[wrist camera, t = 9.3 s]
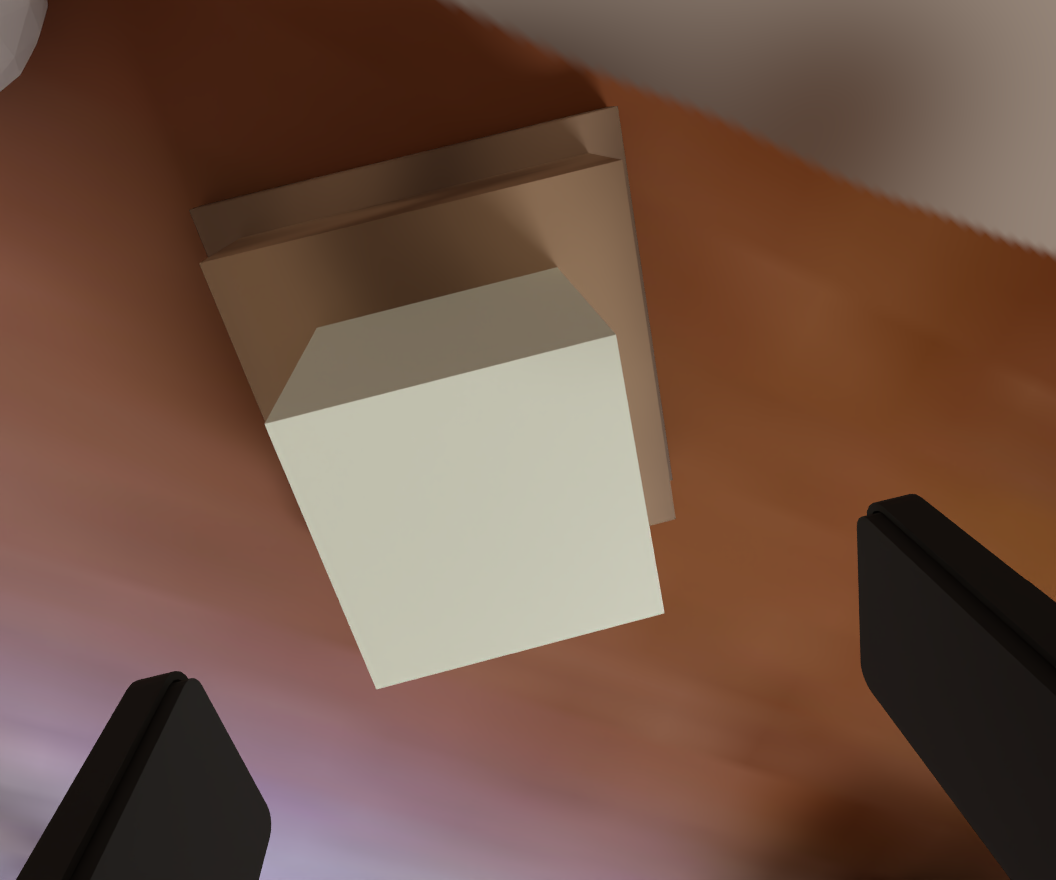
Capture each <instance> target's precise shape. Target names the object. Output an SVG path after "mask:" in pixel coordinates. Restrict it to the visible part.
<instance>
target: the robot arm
mask: <svg viewBox="0 0 1056 880" xmlns="http://www.w3.org/2000/svg"><path fill="white" fill-rule="evenodd" d="M857 547H858V583H859V619H860V655H861V668H862V672H863V676H864V678H865V681H866V683H867V685H868V687H869V689H870V690H871V692H872V693H873V695H874V696H875V697H876V699H877V700H878V701H879V703H880V704H881V705H882V707H883V708H884V709H885V711H886V712H887V713H888V715H889V716H890V717H891V719H892V720H893V721H894V723H895V724H896V726H897V727H898V728H899V730H900V731H901V732H902V734H903V735H904V736H905V738H906V739H907V740H908V742H909V743H910V744H911V746H912V747H913V748H914V750H915V751H916V752H917V754H918V755H919V757H920V758H921V759H922V761H923V762H924V763H925V765H926V766H927V767H928V769H929V770H930V771H931V773H932V774H933V775H934V777H935V778H936V779H937V781H938V782H939V783H940V785H941V786H942V788H943V789H944V790H945V792H946V793H947V794H948V796H949V797H950V798H951V800H952V801H953V802H954V804H955V805H956V806H957V808H958V809H959V810H960V812H961V813H962V814H963V816H964V817H965V819H966V820H967V821H968V823H969V824H970V825H971V827H972V828H973V829H974V831H975V832H976V833H977V835H978V836H979V837H980V839H981V840H982V841H983V843H984V844H985V845H986V847H987V848H988V849H989V851H990V852H991V854H992V855H993V856H994V858H995V859H996V860H997V862H998V863H999V864H1000V866H1001V867H1002V868H1003V870H1004V871H1005V872H1006V874H1007V875H1008V876H1009V878H1010V879H1011V880H1056V602H1055V601H1053V600H1052V599H1051V598H1049V597H1048V596H1047V595H1046V594H1044V593H1043V592H1042V591H1041V590H1039V589H1038V588H1037V587H1035V586H1034V585H1033V584H1032V583H1030V582H1029V581H1027V580H1026V579H1024V578H1023V577H1022V576H1020V575H1019V574H1018V573H1017V572H1015V571H1014V570H1013V569H1012V568H1010V567H1009V566H1008V565H1007V564H1005V563H1004V562H1003V561H1001V560H1000V559H999V558H998V557H996V556H995V555H994V554H993V553H991V552H990V551H989V550H987V549H986V548H985V547H984V546H982V545H981V544H980V543H979V542H977V541H976V540H975V539H974V538H972V537H971V536H970V535H968V534H967V533H966V532H965V531H963V530H962V529H961V528H960V527H958V526H957V525H956V524H954V523H953V522H952V521H951V520H949V519H948V518H947V517H946V516H944V515H943V514H942V513H941V512H939V511H938V510H937V509H935V508H934V507H933V506H932V505H930V504H929V503H928V502H927V501H925V500H924V499H923V498H921V497H920V496H918V495H916V494H909V495H904V496H900V497H896V498H892V499H888V500H884V501H880V502H875V503H872V504H871V505H870V506H869V508H868V510H867V516H863V517H861V518H859V520H858V522H857ZM270 833H271V817H270V812H269V809H268V806H267V804H266V802H265V801H264V799H263V797H262V795H261V793H260V791H259V790H258V788H257V786H256V784H255V782H254V780H253V779H252V777H251V775H250V773H249V771H248V769H247V767H246V766H245V764H244V762H243V760H242V758H241V756H240V755H239V753H238V751H237V749H236V747H235V745H234V744H233V742H232V740H231V738H230V736H229V734H228V732H227V731H226V729H225V727H224V725H223V723H222V721H221V720H220V718H219V716H218V714H217V712H216V710H215V709H214V707H213V705H212V703H211V701H210V699H209V697H208V696H207V694H206V692H205V690H204V688H203V686H202V685H201V683H200V682H199V681H198V680H197V679H195V678H190V679H188V678H187V676H186V675H185V674H183V673H182V672H179V671H174V672H170V673H166V674H161V675H157V676H153V677H149V678H145V679H141V680H137V681H135V682H133V683H132V684H131V685H130V686H129V688H128V689H127V690H126V692H125V694H124V696H123V697H122V699H121V701H120V702H119V704H118V706H117V708H116V709H115V711H114V713H113V714H112V716H111V718H110V720H109V721H108V723H107V725H106V726H105V728H104V730H103V732H102V733H101V735H100V737H99V738H98V740H97V742H96V744H95V745H94V747H93V749H92V750H91V752H90V754H89V756H88V757H87V759H86V761H85V762H84V764H83V766H82V768H81V769H80V771H79V773H78V774H77V776H76V778H75V780H74V781H73V783H72V785H71V786H70V788H69V790H68V792H67V793H66V795H65V797H64V798H63V800H62V802H61V804H60V805H59V807H58V809H57V810H56V812H55V814H54V816H53V817H52V819H51V821H50V822H49V824H48V826H47V828H46V829H45V831H44V833H43V834H42V836H41V838H40V840H39V841H38V843H37V845H36V846H35V848H34V850H33V852H32V853H31V855H30V857H29V858H28V860H27V862H26V864H25V865H24V867H23V869H22V870H21V872H20V874H19V876H18V877H17V879H16V880H259V877H260V873H261V869H262V865H263V861H264V857H265V854H266V850H267V846H268V842H269V838H270Z"/></svg>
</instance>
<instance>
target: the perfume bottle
mask: <svg viewBox="0 0 1056 880" xmlns="http://www.w3.org/2000/svg"><path fill="white" fill-rule="evenodd" d="M47 8H48V2H47V0H0V91H2V90H3V89H4V88H5V87H6V86H8V85H9V84H10V83H11V82H12V81H14V80H15V79H16V78H17V77H18V76H20V75H21V73H22V71H23V69H24V67H25V65H26V63H27V61H28V60H29V58H30V56H31V54H32V52H33V50H34V48H35V46H36V45H37V42H38V39H39V35H40V32H41V29H42V25H43V22H44V18H45V15H46V11H47Z"/></svg>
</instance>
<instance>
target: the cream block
mask: <svg viewBox="0 0 1056 880" xmlns="http://www.w3.org/2000/svg"><path fill="white" fill-rule="evenodd" d="M265 427H266V429H267V431H268V434H269V436H270V438H271V441H272V443H273V445H274V448H275V450H276V453H277V455H278V457H279V460H280V462H281V464H282V467H283V469H284V472H285V474H286V476H287V479H288V481H289V483H290V486H291V488H292V490H293V493H294V495H295V498H296V500H297V502H298V505H299V507H300V509H301V512H302V514H303V517H304V519H305V521H306V524H307V526H308V528H309V531H310V533H311V535H312V538H313V540H314V543H315V545H316V547H317V550H318V552H319V554H320V557H321V559H322V561H323V564H324V566H325V569H326V571H327V573H328V576H329V578H330V580H331V583H332V585H333V588H334V590H335V592H336V595H337V597H338V599H339V602H340V604H341V606H342V609H343V611H344V614H345V616H346V618H347V621H348V623H349V625H350V628H351V630H352V633H353V635H354V637H355V640H356V642H357V644H358V647H359V649H360V651H361V654H362V656H363V659H364V661H365V663H366V666H367V668H368V670H369V673H370V675H371V678H372V680H373V682H374V685H375V687H376V689H380V688H383V687H387V686H391V685H395V684H398V683H402V682H406V681H410V680H414V679H417V678H421V677H425V676H429V675H433V674H436V673H440V672H444V671H448V670H451V669H455V668H459V667H463V666H467V665H470V664H474V663H478V662H482V661H485V660H489V659H493V658H497V657H501V656H504V655H508V654H512V653H516V652H519V651H523V650H527V649H531V648H535V647H538V646H542V645H546V644H550V643H554V642H557V641H561V640H565V639H569V638H572V637H576V636H580V635H584V634H588V633H591V632H595V631H599V630H603V629H606V628H610V627H614V626H618V625H622V624H625V623H629V622H633V621H637V620H641V619H644V618H648V617H652V616H656V615H659V614H663V613H664V608H663V602H662V597H661V591H660V585H659V579H658V574H657V568H656V562H655V556H654V551H653V545H652V539H651V533H650V528H649V522H648V516H647V510H646V505H645V499H644V493H643V487H642V481H641V476H640V470H639V464H638V458H637V453H636V447H635V441H634V435H633V430H632V424H631V418H630V412H629V407H628V401H627V395H626V389H625V384H624V378H623V372H622V366H621V360H620V355H619V349H618V343H617V337H616V334H615V333H614V332H613V330H612V329H611V328H610V327H609V326H608V325H607V324H606V322H605V321H604V320H603V319H602V318H601V317H600V316H599V314H598V313H597V312H596V311H595V310H594V309H593V308H592V306H591V305H590V304H589V303H588V302H587V301H586V300H585V298H584V297H583V296H582V295H581V294H580V293H579V292H578V290H577V289H576V288H575V287H574V286H573V285H572V284H571V282H570V281H569V280H568V279H567V278H566V277H565V275H564V274H563V273H562V272H561V271H560V270H559V269H558V267H556V268H552V269H548V270H544V271H540V272H536V273H532V274H528V275H524V276H520V277H516V278H512V279H508V280H504V281H500V282H496V283H492V284H489V285H485V286H481V287H477V288H473V289H469V290H465V291H461V292H457V293H453V294H449V295H445V296H441V297H437V298H433V299H429V300H425V301H421V302H417V303H413V304H409V305H405V306H401V307H397V308H393V309H389V310H385V311H381V312H377V313H374V314H370V315H366V316H362V317H358V318H354V319H350V320H346V321H342V322H338V323H334V324H330V325H326V326H322V327H318V328H316V330H315V332H314V334H313V336H312V338H311V339H310V341H309V343H308V345H307V347H306V349H305V350H304V352H303V354H302V356H301V358H300V360H299V361H298V363H297V365H296V367H295V369H294V371H293V373H292V374H291V376H290V378H289V380H288V382H287V384H286V385H285V387H284V389H283V391H282V393H281V395H280V396H279V398H278V400H277V402H276V404H275V406H274V407H273V409H272V411H271V413H270V415H269V417H268V419H267V420H266V422H265Z"/></svg>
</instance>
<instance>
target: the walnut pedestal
mask: <svg viewBox="0 0 1056 880" xmlns="http://www.w3.org/2000/svg"><path fill="white" fill-rule="evenodd" d="M189 211H190V214H191V216H192V219H193V221H194V224H195V226H196V229H197V231H198V233H199V236H200V238H201V241H202V243H203V246H204V248H205V251H206V253H207V255H208V258H207V259H205V260H204V261H202V262H200V263H199V264H200V267H201V269H202V272H203V274H204V276H205V279H206V281H207V284H208V286H209V288H210V291H211V293H212V296H213V298H214V300H215V303H216V305H217V308H218V310H219V312H220V315H221V317H222V320H223V322H224V324H225V327H226V329H227V332H228V334H229V336H230V339H231V341H232V344H233V346H234V348H235V351H236V353H237V356H238V358H239V360H240V363H241V365H242V368H243V370H244V373H245V375H246V377H247V380H248V382H249V385H250V387H251V389H252V392H253V394H254V397H255V399H256V401H257V404H258V406H259V409H260V411H261V413H262V416H263V418H264V421H265V422H266V420H267V419H268V417H269V415H270V413H271V411H272V409H273V407H274V406H275V404H276V402H277V400H278V398H279V396H280V395H281V393H282V391H283V389H284V387H285V385H286V384H287V382H288V380H289V378H290V376H291V374H292V373H293V371H294V369H295V367H296V365H297V363H298V361H299V360H300V358H301V356H302V354H303V352H304V350H305V349H306V347H307V345H308V343H309V341H310V339H311V338H312V336H313V334H314V332H315V330H316V328H318V327H322V326H326V325H330V324H334V323H338V322H342V321H346V320H350V319H354V318H358V317H362V316H366V315H370V314H374V313H377V312H381V311H385V310H389V309H393V308H397V307H401V306H405V305H409V304H413V303H417V302H421V301H425V300H429V299H433V298H437V297H441V296H445V295H449V294H453V293H457V292H461V291H465V290H469V289H473V288H477V287H481V286H485V285H489V284H492V283H496V282H500V281H504V280H508V279H512V278H516V277H520V276H524V275H528V274H532V273H536V272H540V271H544V270H548V269H552V268H556V267H558V269H559V270H560V271H561V272H562V273H563V274H564V275H565V277H566V278H567V279H568V280H569V281H570V282H571V284H572V285H573V286H574V287H575V288H576V289H577V290H578V292H579V293H580V294H581V295H582V296H583V297H584V298H585V300H586V301H587V302H588V303H589V304H590V305H591V306H592V308H593V309H594V310H595V311H596V312H597V313H598V314H599V316H600V317H601V318H602V319H603V320H604V321H605V322H606V324H607V325H608V326H609V327H610V328H611V329H612V330H613V332H614V333H615V334H616V337H617V343H618V349H619V355H620V360H621V366H622V372H623V378H624V384H625V389H626V395H627V401H628V407H629V412H630V418H631V424H632V430H633V435H634V441H635V447H636V453H637V458H638V464H639V470H640V476H641V481H642V487H643V493H644V499H645V505H646V510H647V516H648V522H649V526H650V525H654V524H658V523H662V522H666V521H670V520H674V519H676V518H675V512H674V505H673V498H672V491H671V485H670V481H671V480H672V473H671V466H670V460H669V453H668V446H667V439H666V432H665V425H664V419H663V412H662V405H661V398H660V391H659V385H658V378H657V371H656V364H655V357H654V350H653V344H652V337H651V330H650V323H649V316H648V310H647V303H646V296H645V289H644V282H643V275H642V269H641V262H640V255H639V248H638V241H637V235H636V228H635V221H634V214H633V207H632V200H631V194H630V187H629V180H628V173H627V166H626V160H625V153H624V146H623V139H622V132H621V125H620V119H619V112H618V106H613V107H605V108H601V109H597V110H593V111H589V112H585V113H580V114H576V115H572V116H568V117H564V118H560V119H556V120H552V121H547V122H543V123H539V124H535V125H531V126H527V127H523V128H519V129H514V130H510V131H506V132H502V133H498V134H494V135H490V136H486V137H481V138H477V139H473V140H469V141H465V142H461V143H457V144H453V145H449V146H444V147H440V148H436V149H432V150H428V151H424V152H420V153H416V154H411V155H407V156H403V157H399V158H395V159H391V160H387V161H383V162H378V163H374V164H370V165H366V166H362V167H358V168H354V169H350V170H345V171H341V172H337V173H333V174H329V175H325V176H321V177H317V178H312V179H308V180H304V181H300V182H296V183H292V184H288V185H284V186H279V187H275V188H271V189H267V190H263V191H259V192H255V193H251V194H246V195H242V196H238V197H234V198H230V199H226V200H222V201H218V202H213V203H209V204H205V205H201V206H199V207H196V208H193V209H191V210H189Z"/></svg>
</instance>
